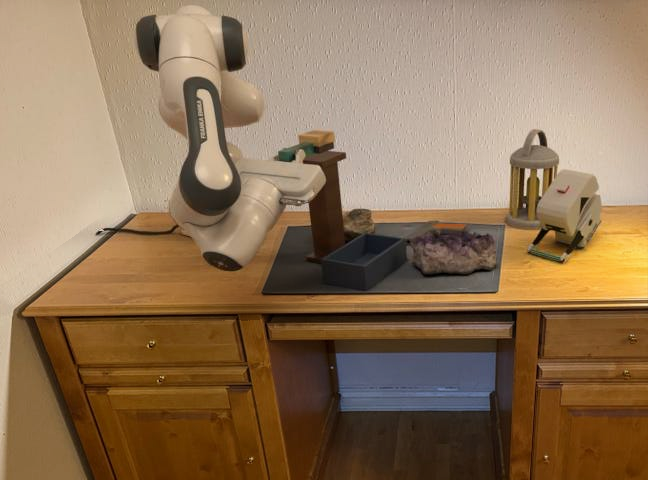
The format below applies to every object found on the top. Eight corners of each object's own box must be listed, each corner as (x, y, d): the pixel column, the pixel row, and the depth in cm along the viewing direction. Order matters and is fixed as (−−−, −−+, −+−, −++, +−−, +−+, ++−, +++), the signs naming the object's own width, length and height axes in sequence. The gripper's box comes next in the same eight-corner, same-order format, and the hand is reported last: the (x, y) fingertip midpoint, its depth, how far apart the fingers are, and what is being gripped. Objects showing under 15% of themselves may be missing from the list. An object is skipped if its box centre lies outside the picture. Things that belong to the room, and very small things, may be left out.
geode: (490, 256, 164) (494, 219, 157) (499, 279, 154) (503, 241, 148) (409, 258, 161) (409, 220, 155) (413, 282, 152) (414, 243, 146)
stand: (306, 261, 163) (293, 159, 151) (328, 247, 171) (317, 149, 159) (333, 265, 160) (322, 162, 148) (354, 252, 168) (345, 152, 156)
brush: (294, 164, 129) (291, 145, 128) (273, 161, 131) (271, 144, 130) (335, 148, 141) (334, 131, 139) (316, 146, 143) (314, 129, 141)
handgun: (447, 249, 168) (405, 244, 172) (468, 230, 181) (428, 225, 185) (447, 243, 167) (404, 238, 171) (468, 223, 180) (427, 219, 184)
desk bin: (323, 282, 151) (320, 259, 148) (366, 254, 167) (365, 232, 164) (366, 290, 147) (364, 266, 144) (407, 260, 162) (406, 238, 159)
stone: (371, 236, 168) (345, 205, 167) (345, 260, 173) (320, 230, 171) (389, 224, 180) (365, 195, 178) (365, 247, 184) (341, 219, 183)
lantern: (521, 210, 194) (525, 122, 182) (565, 218, 187) (572, 127, 175) (496, 223, 185) (499, 131, 172) (541, 232, 177) (547, 137, 165)
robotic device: (538, 274, 171) (514, 225, 156) (578, 212, 176) (559, 158, 161) (572, 285, 165) (551, 234, 150) (613, 220, 170) (597, 165, 154)
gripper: (299, 194, 120) (331, 142, 126) (213, 183, 128) (247, 135, 134) (312, 218, 125) (343, 167, 131) (229, 206, 133) (261, 159, 139)
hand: (294, 150), depth 132 cm, fingers closed on brush, 2 cm apart
